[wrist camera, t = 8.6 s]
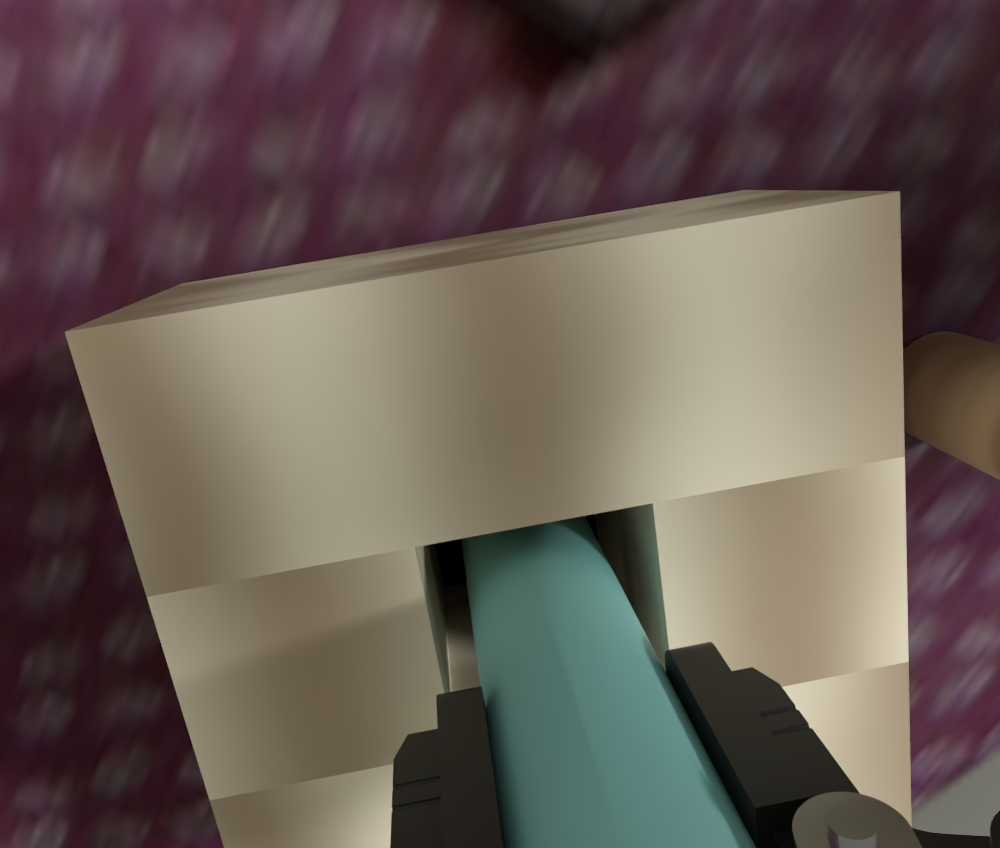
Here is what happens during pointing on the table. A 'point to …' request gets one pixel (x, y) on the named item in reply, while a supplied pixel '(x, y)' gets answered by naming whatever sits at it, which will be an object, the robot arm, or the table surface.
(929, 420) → the medium pin
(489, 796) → the robot arm
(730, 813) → the long pin
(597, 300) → the hole block
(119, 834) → the table surface
